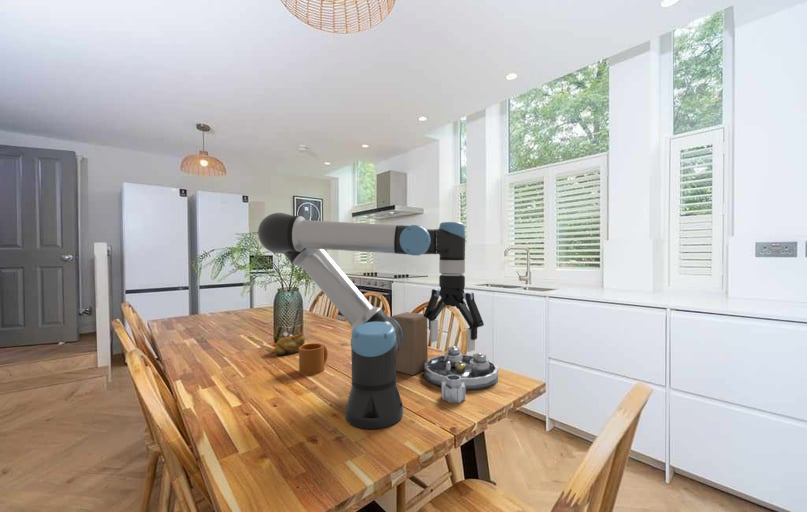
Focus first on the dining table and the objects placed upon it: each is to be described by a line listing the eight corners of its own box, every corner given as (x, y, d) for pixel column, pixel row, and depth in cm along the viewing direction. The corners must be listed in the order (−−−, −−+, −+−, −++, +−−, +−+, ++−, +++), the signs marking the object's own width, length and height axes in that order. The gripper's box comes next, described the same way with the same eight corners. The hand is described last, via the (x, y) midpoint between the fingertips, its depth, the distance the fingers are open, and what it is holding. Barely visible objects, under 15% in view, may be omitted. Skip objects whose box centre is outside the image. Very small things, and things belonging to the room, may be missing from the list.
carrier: (468, 397, 98) (467, 370, 98) (409, 375, 116) (409, 352, 116) (512, 375, 115) (512, 352, 115) (454, 358, 133) (454, 338, 133)
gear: (455, 405, 93) (455, 384, 93) (437, 397, 98) (436, 377, 98) (470, 397, 98) (469, 377, 98) (451, 390, 103) (451, 371, 103)
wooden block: (413, 376, 115) (412, 318, 115) (390, 370, 121) (389, 315, 121) (428, 368, 123) (428, 314, 123) (407, 363, 129) (406, 311, 129)
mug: (336, 368, 124) (336, 344, 124) (307, 377, 116) (307, 352, 115) (322, 362, 131) (322, 339, 130) (294, 371, 122) (294, 346, 121)
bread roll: (277, 358, 137) (276, 338, 137) (269, 353, 144) (268, 334, 144) (307, 352, 145) (306, 333, 145) (298, 347, 152) (297, 329, 152)
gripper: (496, 276, 93) (495, 352, 93) (428, 271, 111) (428, 335, 111) (481, 277, 88) (481, 358, 88) (412, 273, 105) (412, 340, 106)
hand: (451, 345), depth 100 cm, fingers open, 13 cm apart
